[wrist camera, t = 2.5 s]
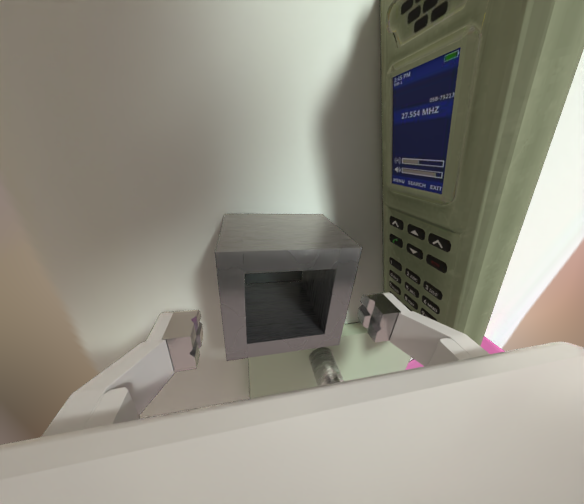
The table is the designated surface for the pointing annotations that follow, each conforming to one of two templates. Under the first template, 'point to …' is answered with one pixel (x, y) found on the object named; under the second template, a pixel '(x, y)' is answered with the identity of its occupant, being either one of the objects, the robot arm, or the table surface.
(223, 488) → the robot arm
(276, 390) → the post board
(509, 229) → the handheld radio
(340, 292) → the collar
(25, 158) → the table surface
